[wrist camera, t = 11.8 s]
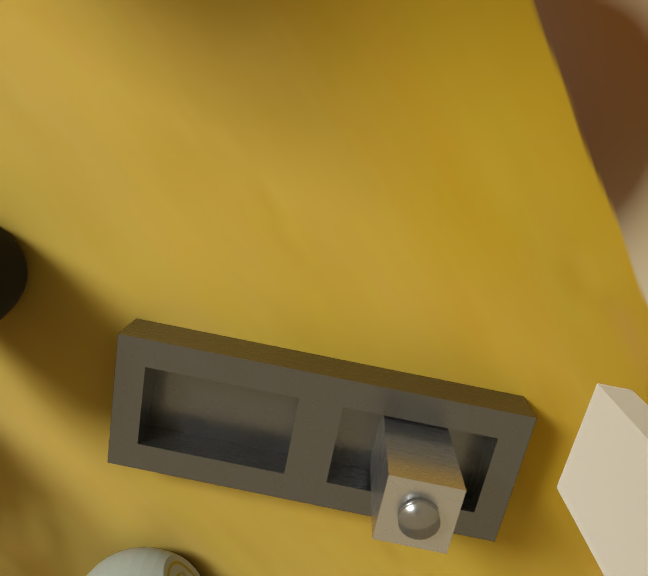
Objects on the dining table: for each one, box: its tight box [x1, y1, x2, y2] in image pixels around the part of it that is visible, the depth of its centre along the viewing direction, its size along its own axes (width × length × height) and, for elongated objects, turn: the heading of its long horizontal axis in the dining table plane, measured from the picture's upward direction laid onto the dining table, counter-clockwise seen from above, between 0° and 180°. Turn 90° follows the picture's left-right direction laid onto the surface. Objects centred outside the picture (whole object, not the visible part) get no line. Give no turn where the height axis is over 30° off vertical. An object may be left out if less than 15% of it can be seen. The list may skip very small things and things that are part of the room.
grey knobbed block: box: [370, 415, 466, 554], centre depth 35 cm, size 4×4×9 cm
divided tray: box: [108, 319, 537, 542], centre depth 38 cm, size 10×28×3 cm, turn 79°
